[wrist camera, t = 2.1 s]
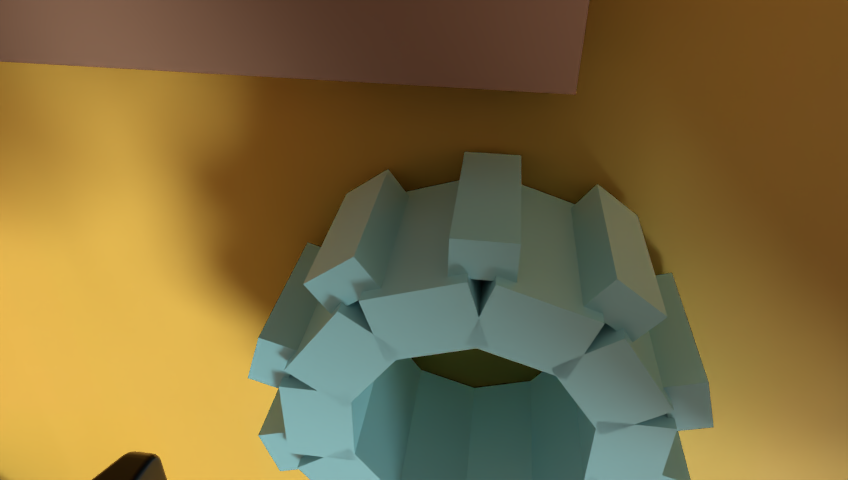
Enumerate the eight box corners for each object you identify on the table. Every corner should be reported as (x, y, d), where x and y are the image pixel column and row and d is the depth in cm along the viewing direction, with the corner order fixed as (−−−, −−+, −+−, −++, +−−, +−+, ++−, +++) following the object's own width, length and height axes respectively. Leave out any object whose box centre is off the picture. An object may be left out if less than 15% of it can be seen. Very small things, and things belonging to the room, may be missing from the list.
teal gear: (716, 163, 10) (779, 274, 8) (631, 458, 14) (655, 597, 11) (284, 134, 11) (213, 227, 8) (316, 423, 15) (273, 547, 12)
